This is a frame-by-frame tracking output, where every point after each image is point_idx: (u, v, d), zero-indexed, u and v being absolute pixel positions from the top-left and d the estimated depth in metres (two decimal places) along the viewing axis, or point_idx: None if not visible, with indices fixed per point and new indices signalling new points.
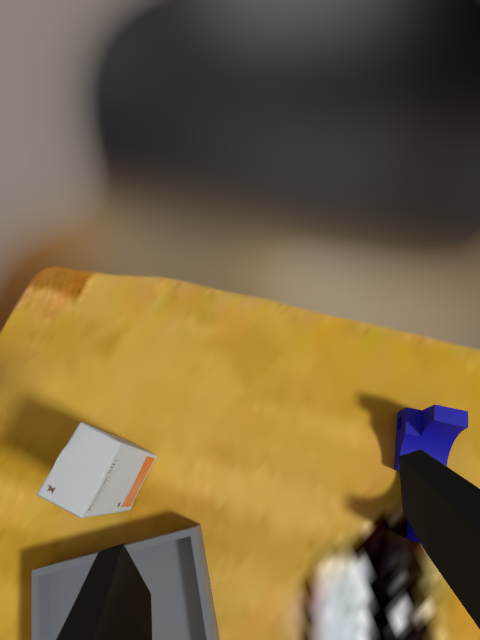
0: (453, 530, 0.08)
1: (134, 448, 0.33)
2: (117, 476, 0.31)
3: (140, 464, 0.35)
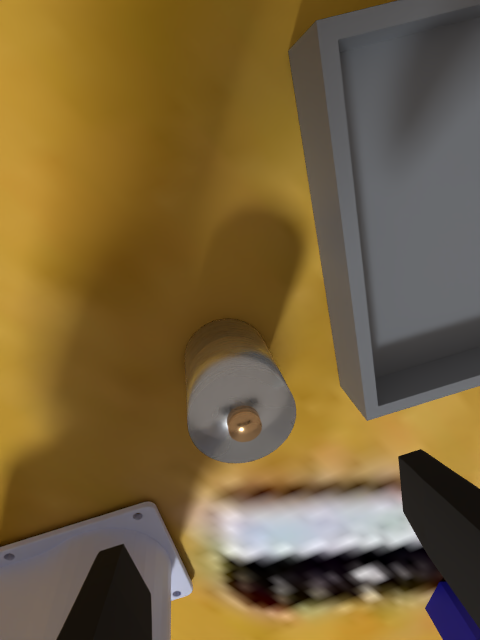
0: (453, 530, 0.08)
1: None
2: None
3: None
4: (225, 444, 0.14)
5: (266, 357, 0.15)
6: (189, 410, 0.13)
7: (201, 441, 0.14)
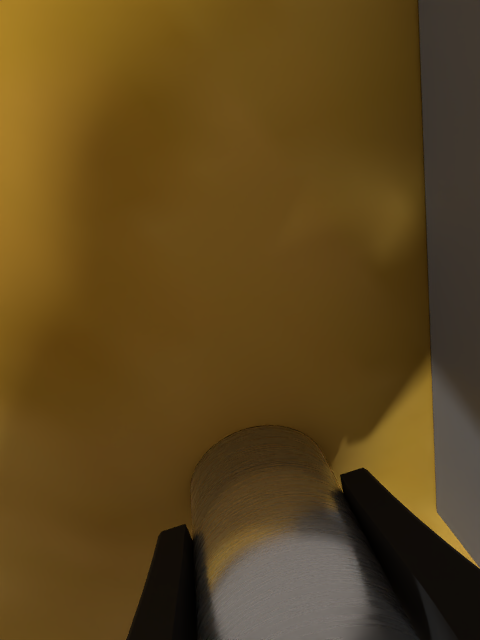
0: (383, 553, 0.08)
1: None
2: None
3: None
4: None
5: (357, 544, 0.07)
6: None
7: None
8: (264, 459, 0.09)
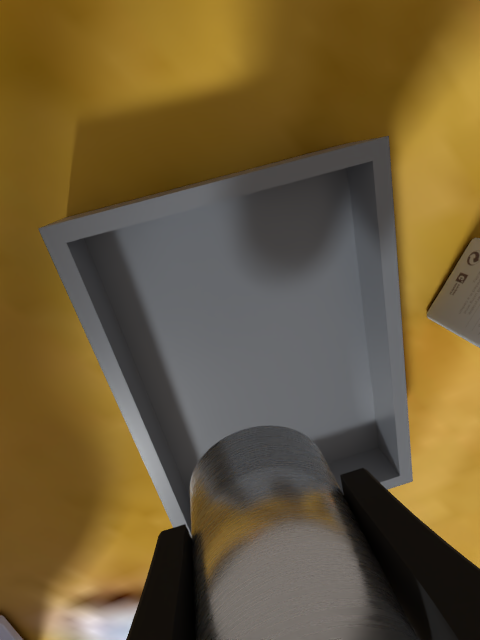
0: (383, 553, 0.08)
1: None
2: None
3: None
4: None
5: (356, 544, 0.07)
6: None
7: None
8: (263, 459, 0.09)
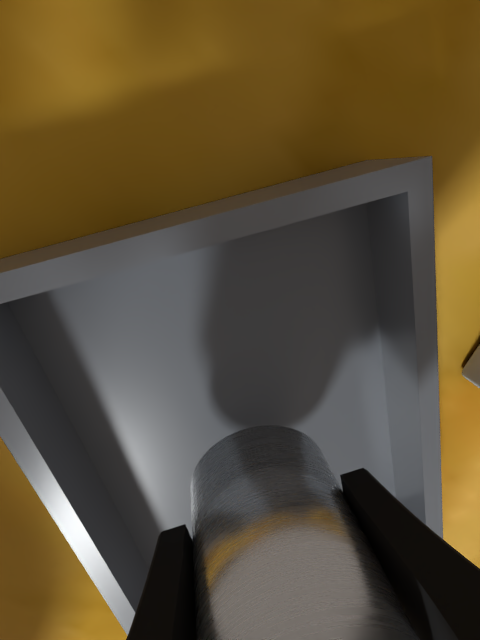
0: (383, 553, 0.08)
1: None
2: None
3: None
4: None
5: (357, 544, 0.07)
6: None
7: None
8: (264, 458, 0.09)
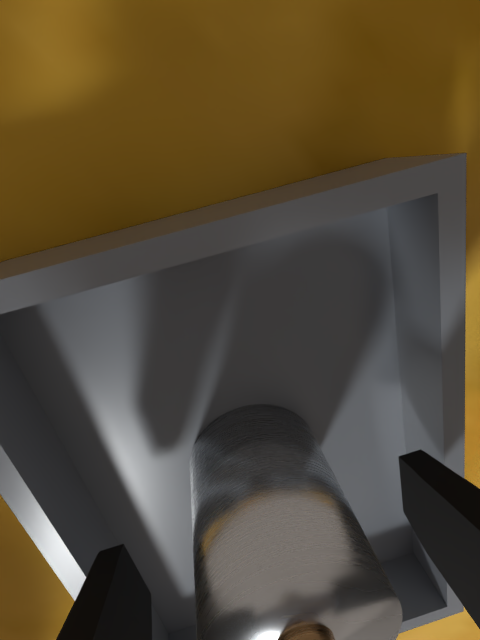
0: (453, 530, 0.08)
1: None
2: None
3: None
4: None
5: (337, 502, 0.08)
6: None
7: None
8: (256, 432, 0.10)
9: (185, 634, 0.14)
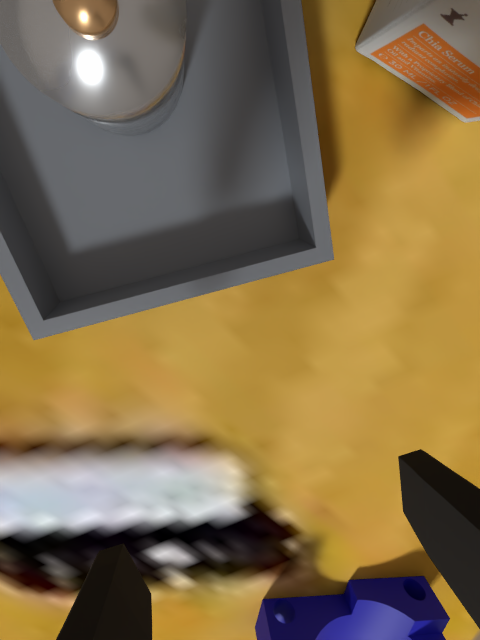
0: (453, 530, 0.08)
1: None
2: None
3: None
4: (63, 62, 0.08)
5: None
6: None
7: (16, 46, 0.08)
8: None
9: (75, 299, 0.15)
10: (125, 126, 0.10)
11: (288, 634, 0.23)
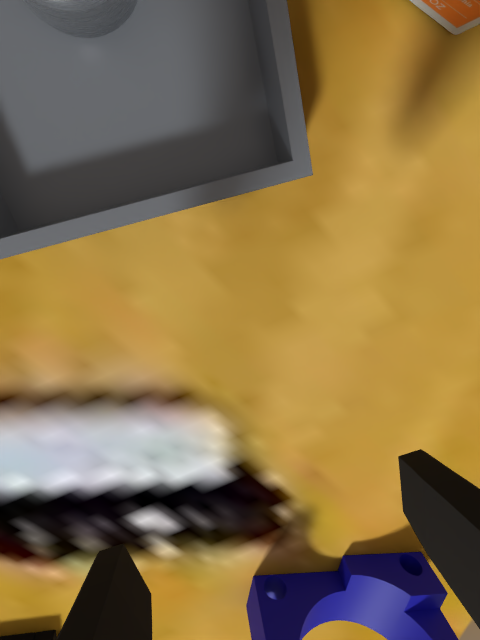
0: (453, 530, 0.08)
1: None
2: None
3: None
4: None
5: None
6: None
7: None
8: None
9: (35, 227, 0.14)
10: (71, 3, 0.09)
11: (279, 610, 0.23)
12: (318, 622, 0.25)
